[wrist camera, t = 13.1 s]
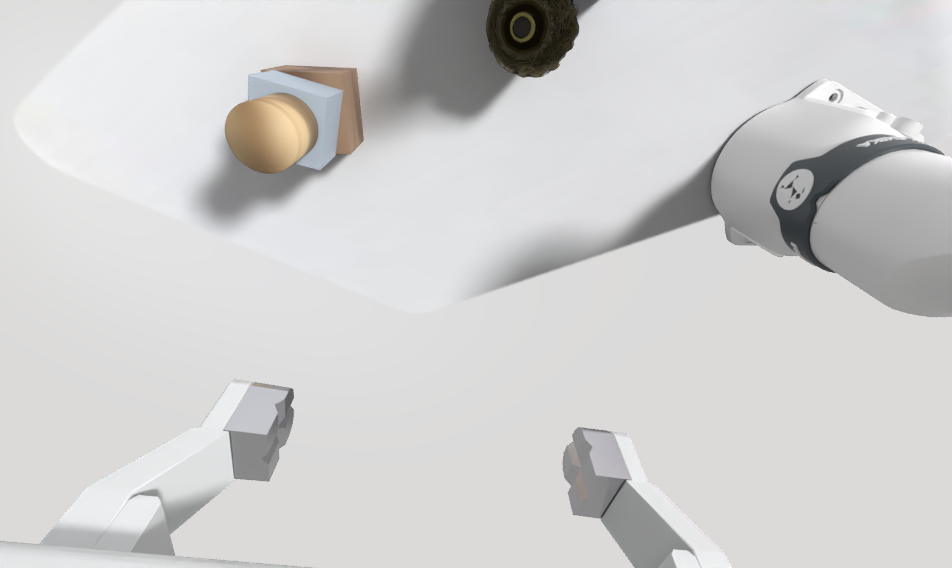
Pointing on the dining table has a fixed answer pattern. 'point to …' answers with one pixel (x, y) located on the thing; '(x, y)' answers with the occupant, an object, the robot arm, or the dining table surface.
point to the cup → (532, 34)
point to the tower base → (350, 107)
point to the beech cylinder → (271, 132)
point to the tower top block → (317, 98)
